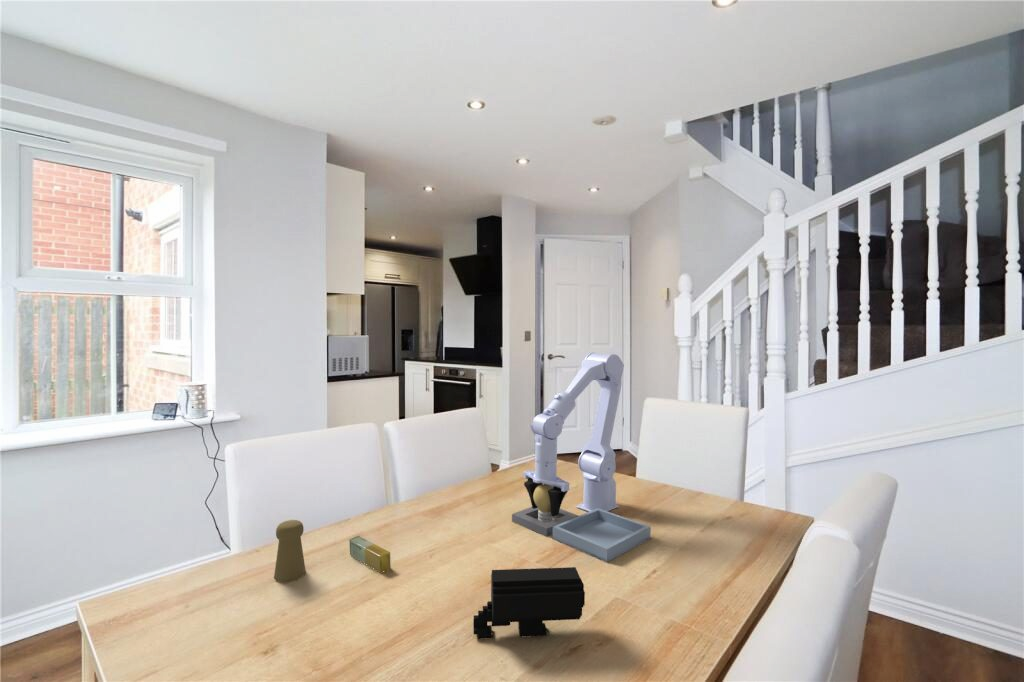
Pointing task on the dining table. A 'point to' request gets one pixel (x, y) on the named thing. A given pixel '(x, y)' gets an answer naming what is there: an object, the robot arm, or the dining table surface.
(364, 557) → the medication box
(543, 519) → the light bulb
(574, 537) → the parts tray
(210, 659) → the dining table surface
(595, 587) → the dining table surface
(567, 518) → the socket block
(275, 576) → the cork
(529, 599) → the security camera
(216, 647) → the dining table surface
